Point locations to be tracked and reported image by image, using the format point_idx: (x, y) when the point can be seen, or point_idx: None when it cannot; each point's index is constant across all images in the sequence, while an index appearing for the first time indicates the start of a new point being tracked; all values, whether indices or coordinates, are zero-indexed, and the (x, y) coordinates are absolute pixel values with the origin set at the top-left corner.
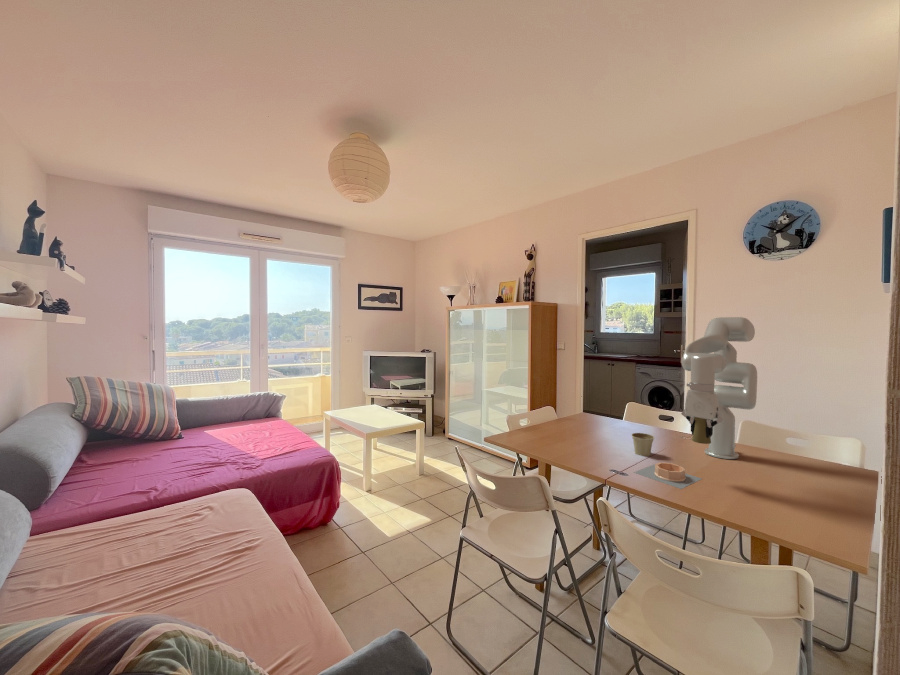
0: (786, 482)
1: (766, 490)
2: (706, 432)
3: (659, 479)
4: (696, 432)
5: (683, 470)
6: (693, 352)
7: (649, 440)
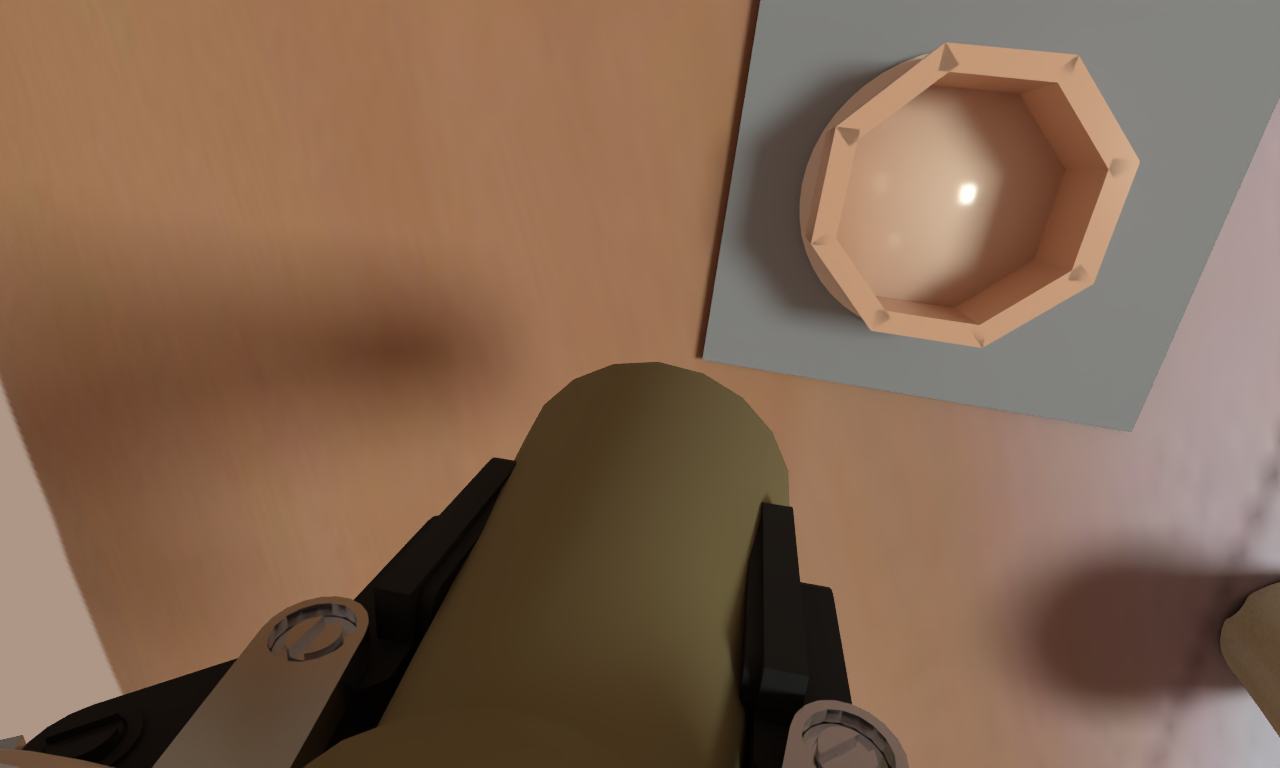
0: None
1: (372, 457)
2: (471, 510)
3: (1005, 21)
4: (674, 476)
5: (821, 215)
6: None
7: None
